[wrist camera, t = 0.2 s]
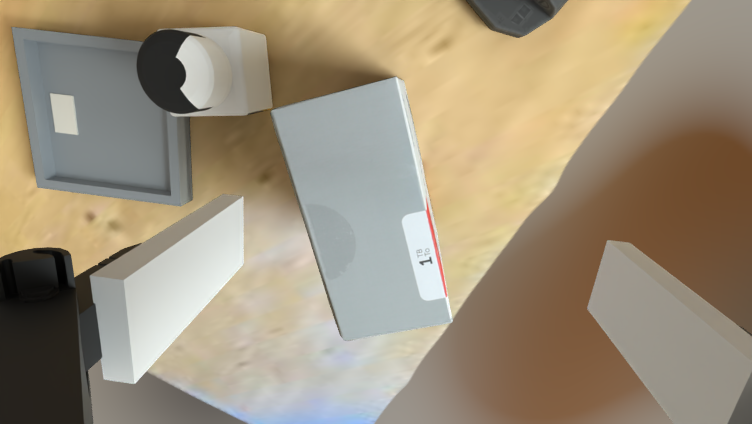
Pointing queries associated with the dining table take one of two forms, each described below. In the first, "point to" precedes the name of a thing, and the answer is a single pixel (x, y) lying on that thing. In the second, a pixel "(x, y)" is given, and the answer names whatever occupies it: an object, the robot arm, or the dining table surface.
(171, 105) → the medicine bottle
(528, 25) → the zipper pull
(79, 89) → the tray
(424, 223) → the hard drive box
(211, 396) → the dining table surface
